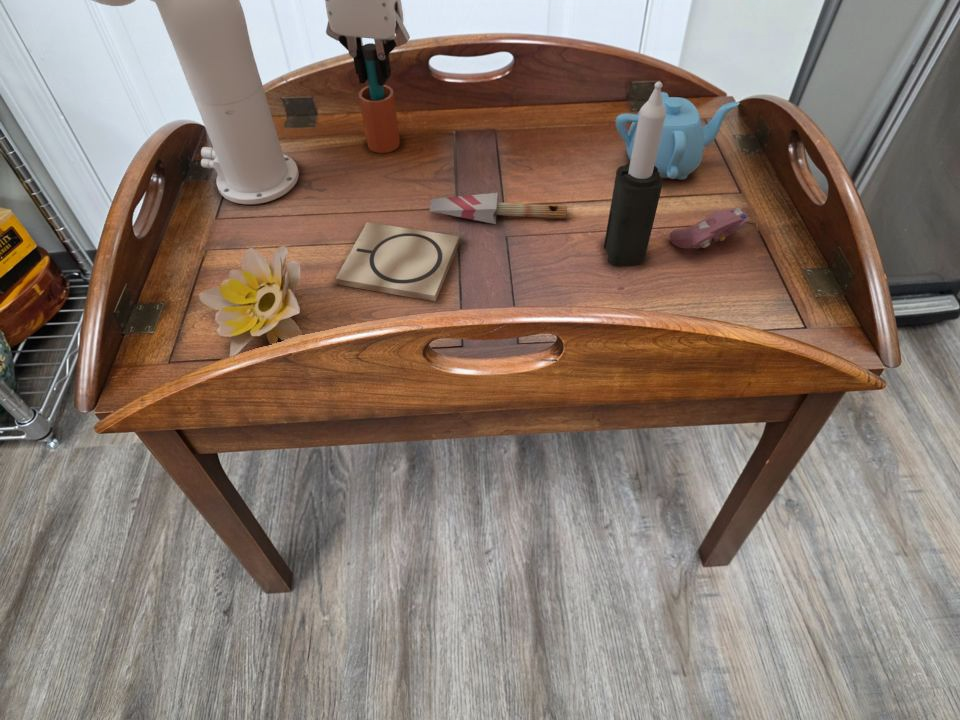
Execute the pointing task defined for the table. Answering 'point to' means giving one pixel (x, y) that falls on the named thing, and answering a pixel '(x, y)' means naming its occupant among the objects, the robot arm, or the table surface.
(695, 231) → the purple toy car
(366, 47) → the marker
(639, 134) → the candle
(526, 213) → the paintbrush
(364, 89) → the pen cup
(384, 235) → the sketch board
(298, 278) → the decorative flower
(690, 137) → the teapot
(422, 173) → the table surface
